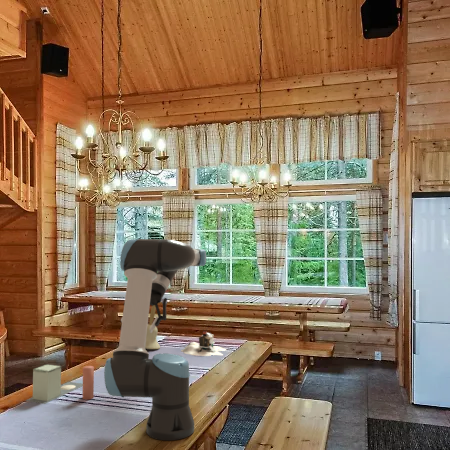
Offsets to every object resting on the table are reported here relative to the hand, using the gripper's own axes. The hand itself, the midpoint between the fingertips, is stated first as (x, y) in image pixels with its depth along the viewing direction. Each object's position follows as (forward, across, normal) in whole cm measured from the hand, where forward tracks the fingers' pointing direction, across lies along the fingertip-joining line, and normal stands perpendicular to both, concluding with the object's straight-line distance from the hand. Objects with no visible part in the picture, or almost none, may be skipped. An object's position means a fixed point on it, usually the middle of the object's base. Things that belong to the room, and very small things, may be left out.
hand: (136, 326), depth 194 cm
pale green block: (+38, +18, 0) cm, 42 cm away
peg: (+34, +3, -1) cm, 34 cm away
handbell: (-18, +16, -62) cm, 66 cm away
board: (+35, +17, -5) cm, 39 cm away
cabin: (-26, -17, -60) cm, 68 cm away
